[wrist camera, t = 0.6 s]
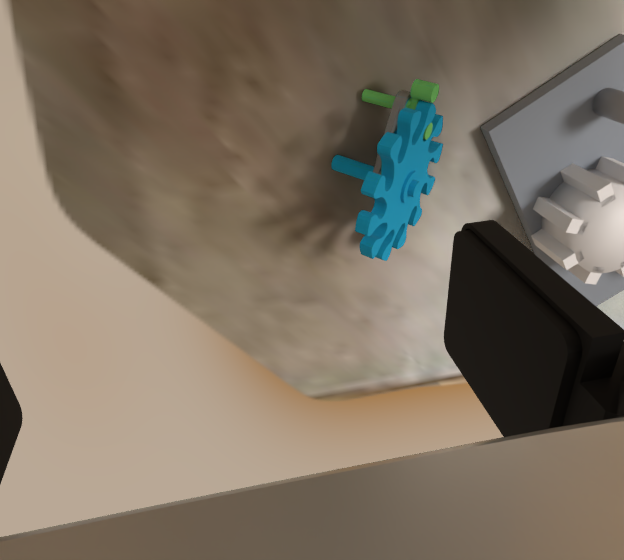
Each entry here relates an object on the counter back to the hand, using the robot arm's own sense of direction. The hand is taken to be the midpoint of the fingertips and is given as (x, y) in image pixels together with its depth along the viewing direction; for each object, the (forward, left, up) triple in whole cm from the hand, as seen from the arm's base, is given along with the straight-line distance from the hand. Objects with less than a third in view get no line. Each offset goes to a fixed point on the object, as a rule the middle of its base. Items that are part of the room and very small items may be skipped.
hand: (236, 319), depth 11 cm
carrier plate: (-19, +23, -24) cm, 38 cm away
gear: (-7, +10, -25) cm, 28 cm away
